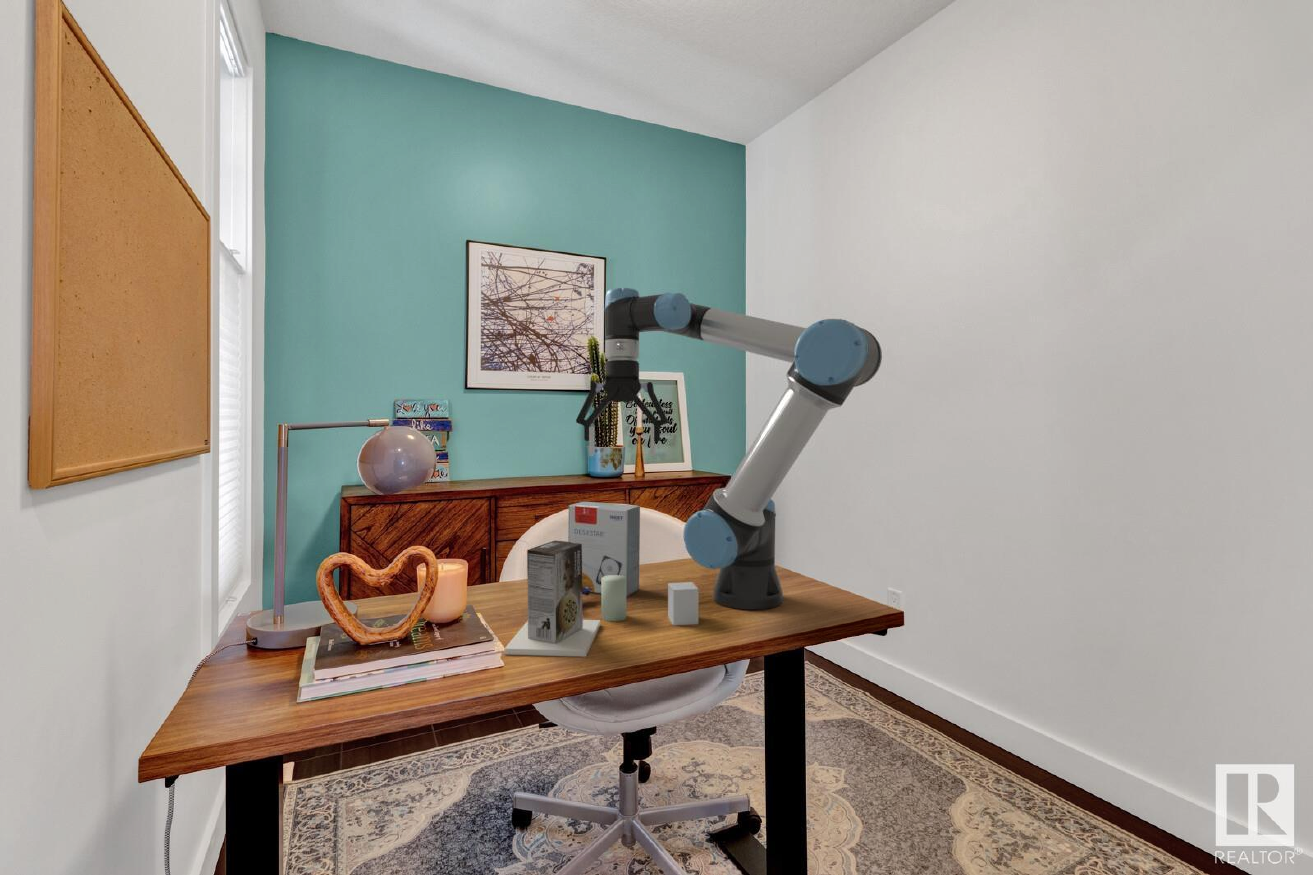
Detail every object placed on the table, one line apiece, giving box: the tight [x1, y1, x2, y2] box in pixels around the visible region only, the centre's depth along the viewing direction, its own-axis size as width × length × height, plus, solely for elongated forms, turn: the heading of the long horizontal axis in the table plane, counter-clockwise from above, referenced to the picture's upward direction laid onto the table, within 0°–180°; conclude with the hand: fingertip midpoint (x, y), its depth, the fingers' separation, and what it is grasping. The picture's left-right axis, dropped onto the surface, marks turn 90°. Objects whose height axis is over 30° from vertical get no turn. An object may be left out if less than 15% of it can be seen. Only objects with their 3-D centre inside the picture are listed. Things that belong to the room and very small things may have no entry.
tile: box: [504, 619, 601, 658], centre depth 115 cm, size 14×16×1 cm
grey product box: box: [526, 540, 584, 643], centre depth 115 cm, size 9×6×16 cm
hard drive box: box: [567, 501, 641, 598], centre depth 147 cm, size 16×8×20 cm, turn 67°
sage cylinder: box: [600, 575, 627, 622], centre depth 127 cm, size 5×5×8 cm
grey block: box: [667, 581, 699, 626], centre depth 126 cm, size 5×5×7 cm
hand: (622, 456), depth 140 cm, fingers open, 13 cm apart
